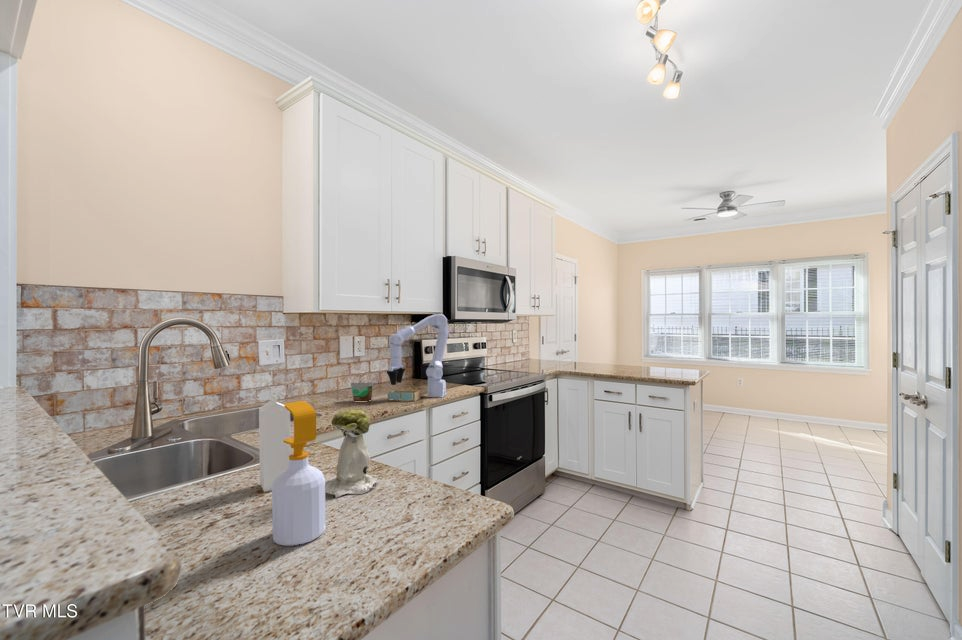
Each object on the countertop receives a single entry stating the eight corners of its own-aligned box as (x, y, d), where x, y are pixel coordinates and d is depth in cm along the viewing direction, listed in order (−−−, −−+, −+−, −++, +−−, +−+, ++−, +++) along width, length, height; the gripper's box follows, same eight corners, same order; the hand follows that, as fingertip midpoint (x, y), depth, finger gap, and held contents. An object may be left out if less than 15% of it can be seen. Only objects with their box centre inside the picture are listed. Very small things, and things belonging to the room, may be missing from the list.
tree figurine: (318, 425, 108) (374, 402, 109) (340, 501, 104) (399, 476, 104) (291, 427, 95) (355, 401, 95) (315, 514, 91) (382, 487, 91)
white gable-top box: (264, 492, 97) (262, 398, 97) (259, 484, 101) (258, 395, 101) (291, 485, 100) (290, 395, 100) (285, 478, 105) (284, 392, 105)
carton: (420, 398, 214) (420, 390, 214) (414, 401, 206) (414, 393, 206) (394, 397, 217) (394, 390, 217) (387, 400, 209) (387, 392, 209)
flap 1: (399, 399, 207) (399, 392, 207) (399, 399, 207) (399, 392, 207) (388, 399, 209) (388, 392, 209) (388, 399, 208) (388, 392, 208)
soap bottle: (310, 518, 83) (308, 396, 83) (334, 532, 77) (332, 401, 78) (264, 536, 76) (262, 404, 76) (287, 553, 71) (285, 410, 71)
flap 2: (412, 399, 206) (412, 392, 206) (412, 399, 205) (412, 393, 205) (401, 399, 207) (401, 392, 207) (401, 399, 207) (401, 392, 207)
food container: (345, 402, 206) (345, 382, 206) (352, 400, 212) (352, 381, 212) (367, 403, 202) (366, 383, 202) (373, 401, 208) (373, 381, 208)
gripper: (394, 356, 218) (394, 381, 218) (382, 358, 204) (383, 385, 204) (406, 356, 217) (407, 381, 217) (396, 358, 203) (396, 385, 203)
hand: (396, 383), depth 210 cm, fingers open, 7 cm apart
